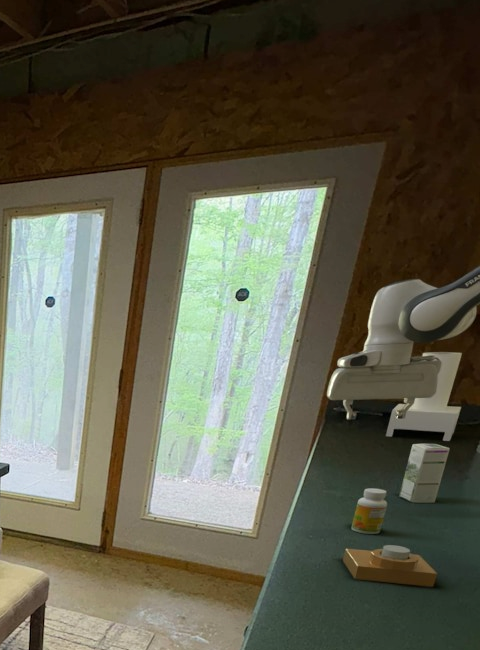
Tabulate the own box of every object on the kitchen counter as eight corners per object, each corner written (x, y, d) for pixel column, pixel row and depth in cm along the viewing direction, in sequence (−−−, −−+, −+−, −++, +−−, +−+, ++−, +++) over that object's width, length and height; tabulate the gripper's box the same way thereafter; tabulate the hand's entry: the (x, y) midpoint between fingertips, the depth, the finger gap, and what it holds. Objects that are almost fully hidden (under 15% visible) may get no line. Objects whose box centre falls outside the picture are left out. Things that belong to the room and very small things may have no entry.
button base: (414, 569, 123) (421, 546, 122) (433, 590, 115) (441, 565, 113) (342, 563, 128) (347, 540, 126) (354, 582, 119) (360, 557, 117)
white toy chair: (453, 433, 241) (477, 351, 230) (449, 441, 228) (475, 355, 217) (392, 428, 253) (412, 351, 242) (385, 436, 240) (406, 354, 229)
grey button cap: (403, 554, 119) (406, 546, 118) (410, 562, 116) (413, 553, 115) (378, 552, 121) (380, 544, 120) (384, 559, 117) (386, 551, 117)
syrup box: (435, 503, 162) (452, 447, 157) (410, 502, 163) (425, 447, 158) (422, 497, 167) (437, 443, 162) (397, 496, 168) (411, 443, 163)
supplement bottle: (346, 526, 148) (356, 487, 144) (372, 527, 147) (382, 487, 143) (357, 534, 143) (368, 493, 139) (384, 535, 142) (395, 493, 138)
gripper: (437, 354, 142) (425, 416, 146) (330, 359, 150) (321, 418, 154) (449, 354, 136) (435, 419, 140) (336, 360, 144) (327, 420, 148)
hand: (375, 418), depth 147 cm, fingers open, 8 cm apart
